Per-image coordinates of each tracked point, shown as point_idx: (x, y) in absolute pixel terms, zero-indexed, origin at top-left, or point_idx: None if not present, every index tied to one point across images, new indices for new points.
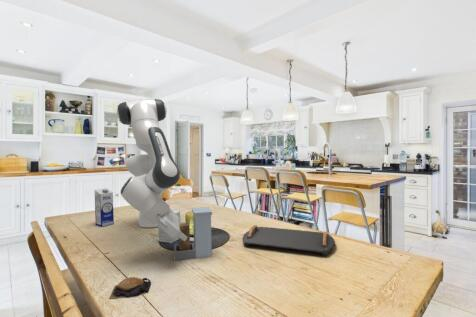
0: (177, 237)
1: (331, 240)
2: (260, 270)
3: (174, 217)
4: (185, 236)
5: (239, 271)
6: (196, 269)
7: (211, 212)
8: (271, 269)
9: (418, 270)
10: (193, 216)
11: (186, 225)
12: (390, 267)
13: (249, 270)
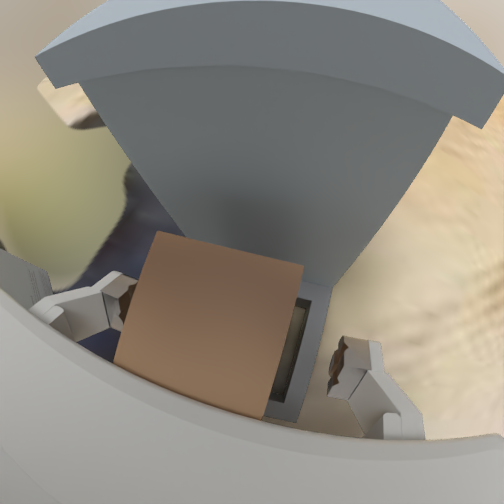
0: (45, 289)
1: None
2: (477, 151)
3: (19, 404)
4: (381, 360)
5: (480, 197)
6: (436, 330)
7: None
8: (473, 131)
9: None
10: (127, 123)
11: (270, 303)
12: None
13: (477, 171)
